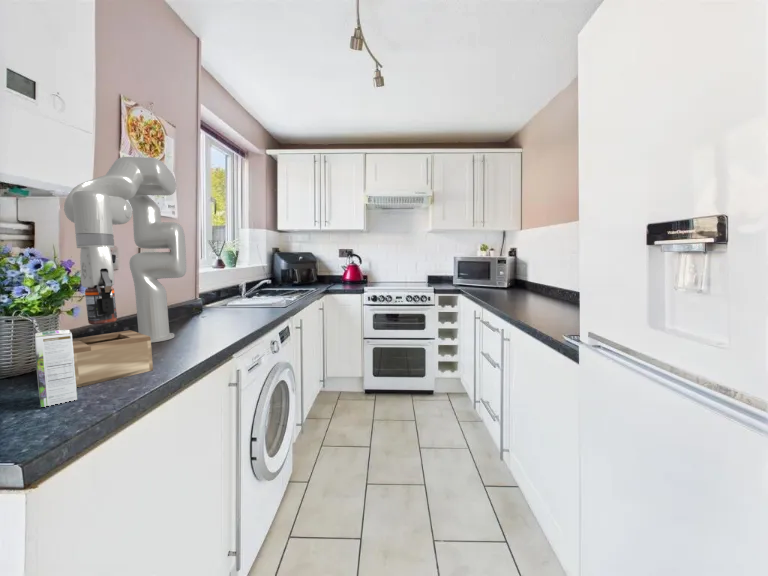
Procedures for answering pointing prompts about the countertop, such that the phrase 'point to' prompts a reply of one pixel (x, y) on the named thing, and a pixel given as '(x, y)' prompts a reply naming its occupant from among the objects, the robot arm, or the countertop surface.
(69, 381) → the syrup box
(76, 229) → the robot arm
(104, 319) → the supplement bottle
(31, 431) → the countertop surface
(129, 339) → the drop box
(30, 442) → the countertop surface
